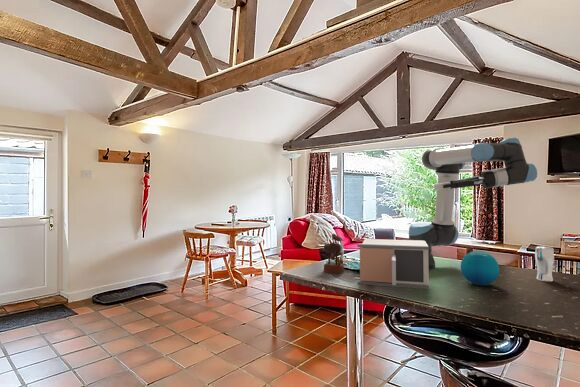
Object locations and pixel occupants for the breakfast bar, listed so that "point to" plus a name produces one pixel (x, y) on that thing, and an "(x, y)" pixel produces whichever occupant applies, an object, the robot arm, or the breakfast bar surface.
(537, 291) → the breakfast bar surface
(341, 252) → the screw
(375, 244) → the sliding door cabinet
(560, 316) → the breakfast bar surface
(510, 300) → the breakfast bar surface
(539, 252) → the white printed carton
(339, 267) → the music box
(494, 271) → the decorative orb
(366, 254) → the side door
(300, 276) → the breakfast bar surface
